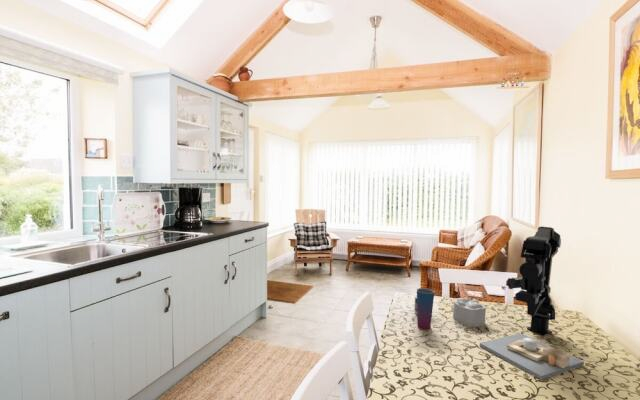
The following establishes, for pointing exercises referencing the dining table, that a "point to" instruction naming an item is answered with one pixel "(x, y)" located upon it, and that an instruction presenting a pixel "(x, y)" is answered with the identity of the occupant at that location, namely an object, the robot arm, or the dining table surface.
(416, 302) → the pill bottle
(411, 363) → the dining table surface
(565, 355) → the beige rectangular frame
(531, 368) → the board
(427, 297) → the cup
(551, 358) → the orange rounded piece
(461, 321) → the lumpy-topped squat cylinder
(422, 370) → the dining table surface
